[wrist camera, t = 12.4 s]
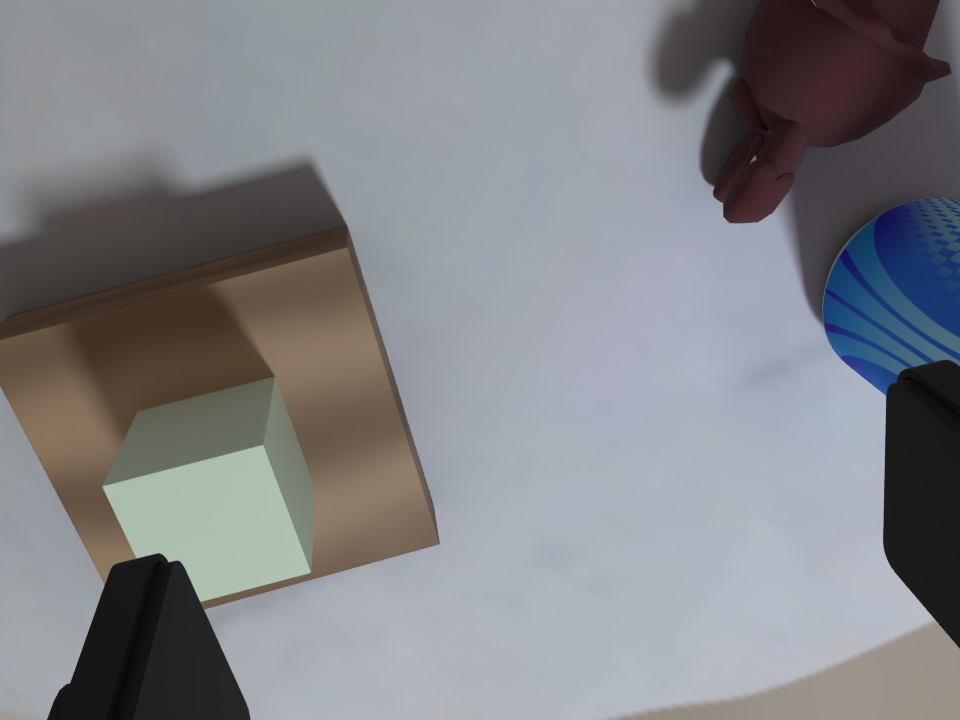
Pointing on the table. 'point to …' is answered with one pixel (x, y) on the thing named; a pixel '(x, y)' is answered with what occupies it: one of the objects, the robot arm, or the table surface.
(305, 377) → the walnut base
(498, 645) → the table surface
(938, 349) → the beer can
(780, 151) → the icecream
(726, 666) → the table surface
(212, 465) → the sage cube
